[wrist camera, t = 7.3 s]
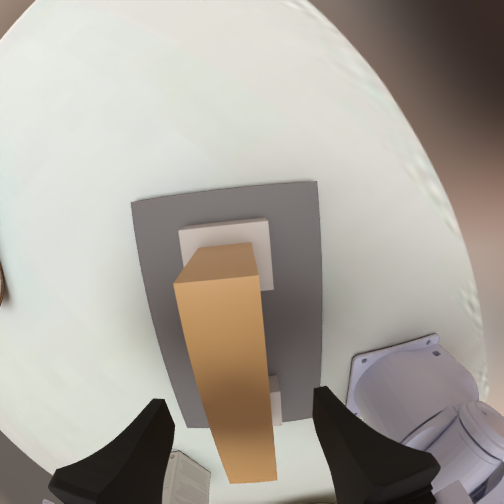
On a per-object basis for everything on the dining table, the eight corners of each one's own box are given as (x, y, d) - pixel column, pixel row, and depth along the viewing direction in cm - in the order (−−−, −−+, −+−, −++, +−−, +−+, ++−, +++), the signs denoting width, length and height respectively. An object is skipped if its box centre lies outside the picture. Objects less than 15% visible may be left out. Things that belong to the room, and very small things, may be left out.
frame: (251, 242, 15) (258, 275, 9) (269, 419, 18) (277, 480, 13) (198, 248, 15) (173, 283, 9) (230, 422, 18) (230, 483, 12)
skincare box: (152, 455, 23) (132, 535, 12) (180, 449, 23) (164, 539, 11) (185, 478, 25) (175, 552, 13) (212, 473, 24) (208, 553, 13)
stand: (313, 181, 18) (335, 179, 13) (315, 409, 22) (326, 443, 18) (136, 201, 17) (106, 206, 13) (188, 420, 22) (182, 455, 17)
